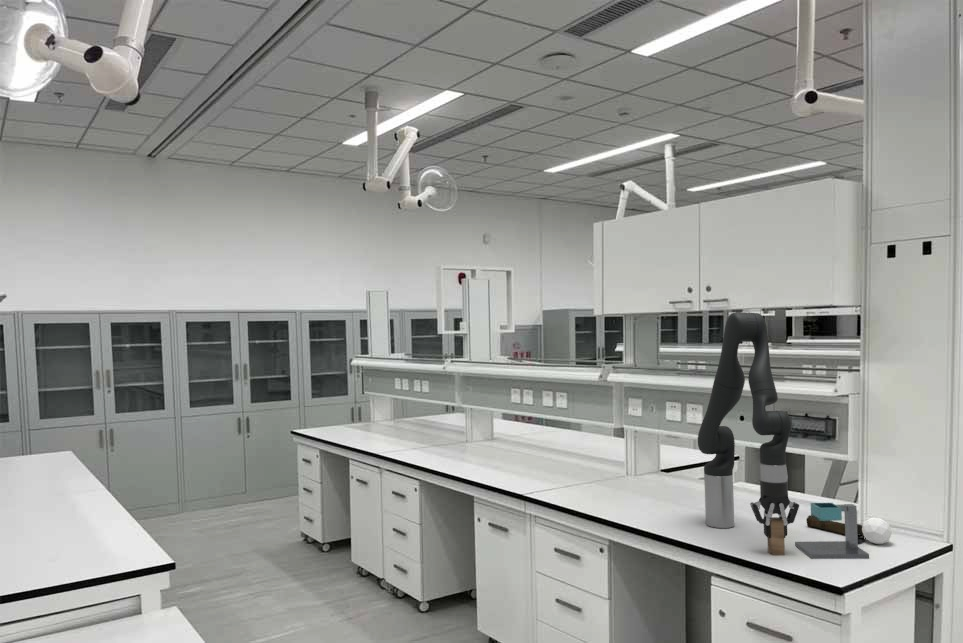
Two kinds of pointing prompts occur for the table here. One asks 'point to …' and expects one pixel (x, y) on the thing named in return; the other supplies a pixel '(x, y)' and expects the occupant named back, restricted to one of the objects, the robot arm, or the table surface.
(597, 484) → the table surface
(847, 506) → the cup bracket
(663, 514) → the table surface
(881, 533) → the ball
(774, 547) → the brown wooden block
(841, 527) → the hand tool
